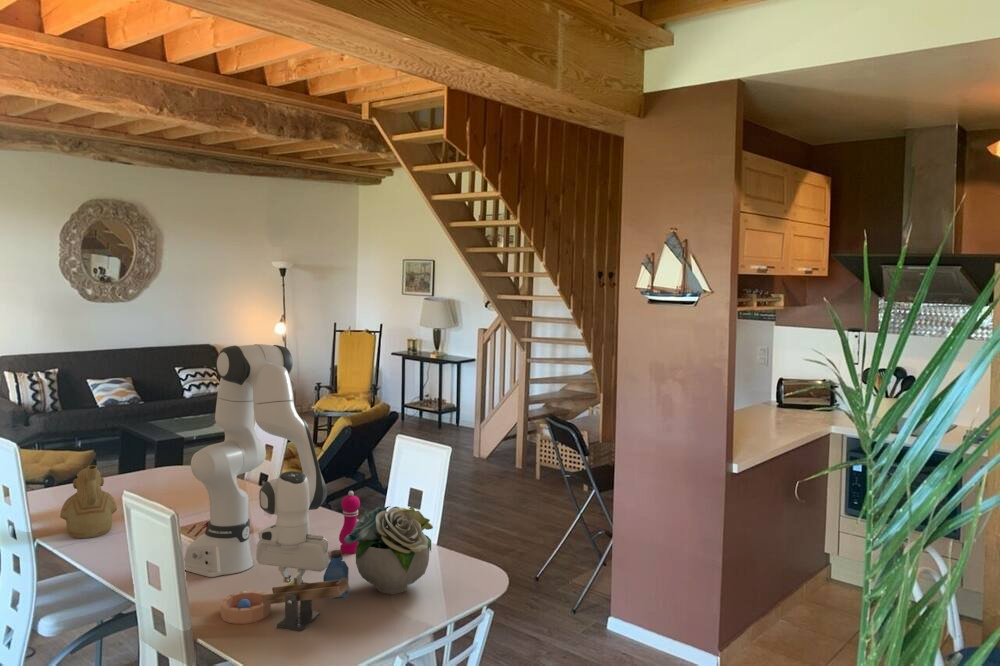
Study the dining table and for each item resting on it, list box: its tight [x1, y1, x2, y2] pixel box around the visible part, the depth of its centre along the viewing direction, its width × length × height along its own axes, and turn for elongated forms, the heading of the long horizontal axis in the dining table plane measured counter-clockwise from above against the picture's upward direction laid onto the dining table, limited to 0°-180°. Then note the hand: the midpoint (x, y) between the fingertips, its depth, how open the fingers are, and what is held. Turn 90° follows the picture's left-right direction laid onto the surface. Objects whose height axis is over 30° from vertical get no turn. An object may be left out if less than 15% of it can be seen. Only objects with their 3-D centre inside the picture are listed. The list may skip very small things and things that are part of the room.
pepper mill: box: [338, 490, 361, 555], centre depth 244 cm, size 7×7×20 cm
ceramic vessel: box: [59, 464, 118, 539], centre depth 254 cm, size 17×20×25 cm
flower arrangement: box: [344, 506, 434, 595], centre depth 215 cm, size 25×25×24 cm
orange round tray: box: [220, 590, 272, 625], centre depth 197 cm, size 12×12×4 cm
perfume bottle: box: [322, 549, 349, 598], centre depth 211 cm, size 6×6×12 cm
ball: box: [238, 599, 250, 609], centre depth 197 cm, size 3×3×3 cm
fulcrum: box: [276, 581, 321, 633], centre depth 193 cm, size 7×10×9 cm
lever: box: [262, 577, 350, 605], centre depth 196 cm, size 22×14×3 cm, turn 76°
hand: (292, 582), depth 202 cm, fingers closed
